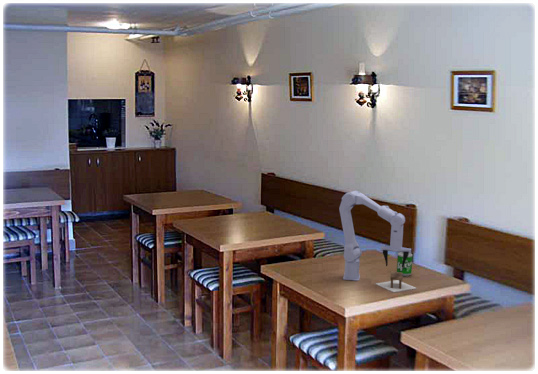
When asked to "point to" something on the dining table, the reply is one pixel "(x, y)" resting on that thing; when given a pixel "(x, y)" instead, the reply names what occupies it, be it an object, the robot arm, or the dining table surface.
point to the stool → (396, 278)
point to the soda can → (407, 265)
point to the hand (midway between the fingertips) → (394, 266)
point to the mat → (395, 286)
